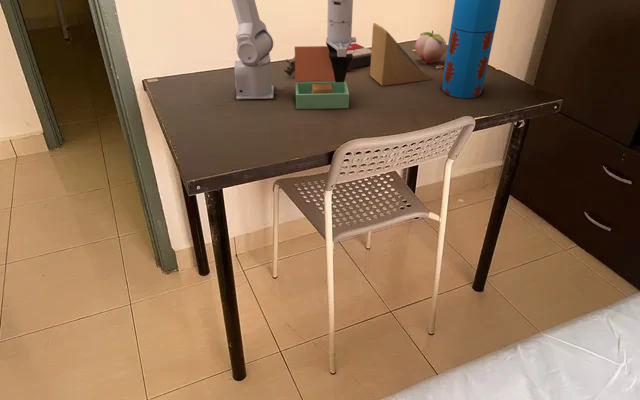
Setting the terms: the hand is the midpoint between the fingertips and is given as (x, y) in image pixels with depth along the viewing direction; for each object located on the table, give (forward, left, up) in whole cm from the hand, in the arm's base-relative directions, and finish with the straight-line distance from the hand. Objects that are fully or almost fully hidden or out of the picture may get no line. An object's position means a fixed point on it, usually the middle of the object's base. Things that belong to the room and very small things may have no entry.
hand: (338, 75), depth 125 cm
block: (-4, +1, -7) cm, 8 cm away
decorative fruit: (+30, +29, -8) cm, 43 cm away
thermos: (+34, +8, -8) cm, 36 cm away
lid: (-4, +6, +1) cm, 7 cm away
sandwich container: (+20, +18, -8) cm, 27 cm away
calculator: (+5, +30, -8) cm, 31 cm away
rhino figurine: (-9, +22, -8) cm, 24 cm away
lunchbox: (-4, +2, -8) cm, 9 cm away
